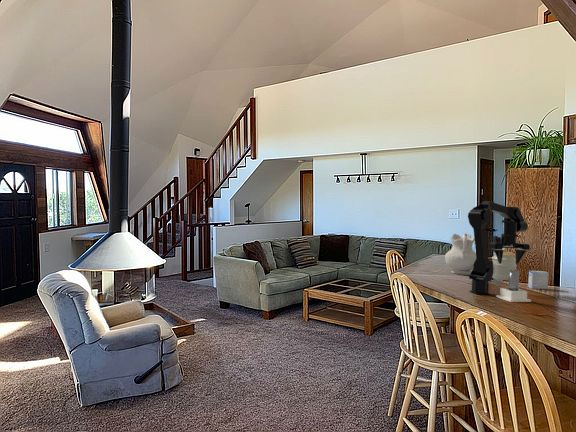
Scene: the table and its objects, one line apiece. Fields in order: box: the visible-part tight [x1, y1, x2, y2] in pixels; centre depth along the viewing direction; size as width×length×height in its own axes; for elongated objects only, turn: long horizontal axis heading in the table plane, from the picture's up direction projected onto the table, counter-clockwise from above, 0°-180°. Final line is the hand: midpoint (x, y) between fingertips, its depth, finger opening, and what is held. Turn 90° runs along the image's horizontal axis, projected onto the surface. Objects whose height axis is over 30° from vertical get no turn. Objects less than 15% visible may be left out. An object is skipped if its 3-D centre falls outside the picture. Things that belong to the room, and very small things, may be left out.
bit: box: [507, 269, 520, 291], centre depth 196 cm, size 4×4×12 cm
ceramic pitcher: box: [444, 232, 476, 276], centre depth 268 cm, size 22×20×25 cm
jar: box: [491, 248, 517, 281], centre depth 253 cm, size 13×13×18 cm
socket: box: [495, 287, 532, 303], centre depth 196 cm, size 10×10×4 cm
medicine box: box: [527, 270, 550, 290], centre depth 225 cm, size 8×4×9 cm, turn 84°
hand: (508, 263), depth 218 cm, fingers open, 9 cm apart
